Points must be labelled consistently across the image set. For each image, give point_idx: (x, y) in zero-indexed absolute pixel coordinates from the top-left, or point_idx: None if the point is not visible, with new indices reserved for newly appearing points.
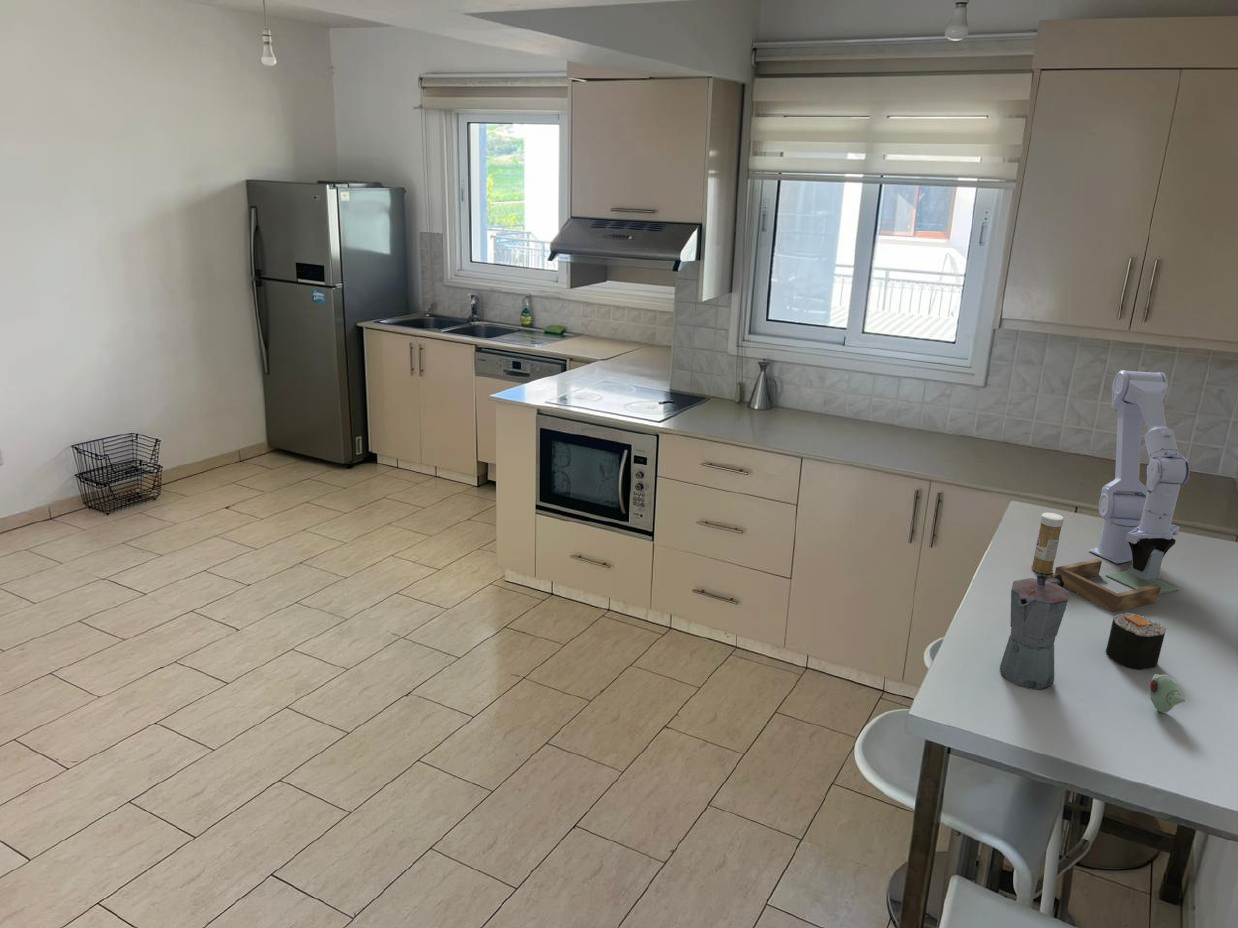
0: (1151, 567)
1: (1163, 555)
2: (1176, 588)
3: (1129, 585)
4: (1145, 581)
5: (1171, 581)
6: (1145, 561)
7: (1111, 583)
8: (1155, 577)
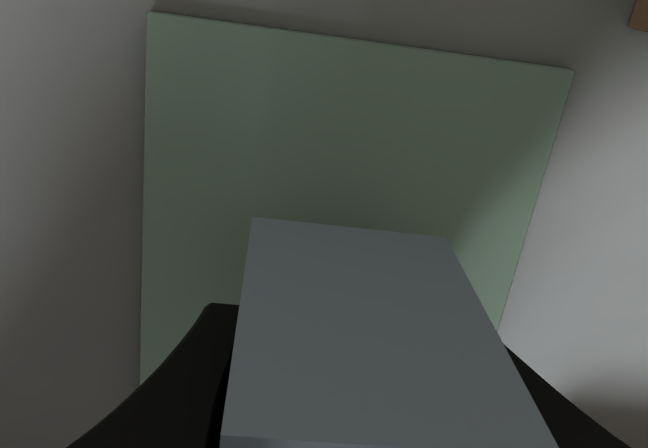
0: (433, 306)
1: (167, 393)
2: (154, 29)
3: (507, 280)
4: None
5: (8, 160)
6: (559, 401)
7: (558, 366)
8: (294, 222)
